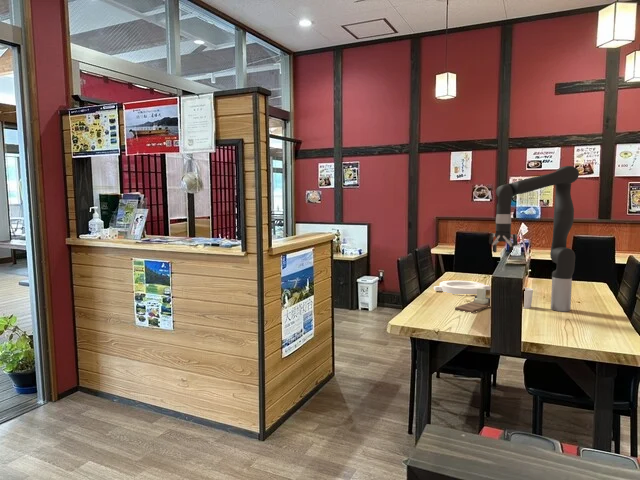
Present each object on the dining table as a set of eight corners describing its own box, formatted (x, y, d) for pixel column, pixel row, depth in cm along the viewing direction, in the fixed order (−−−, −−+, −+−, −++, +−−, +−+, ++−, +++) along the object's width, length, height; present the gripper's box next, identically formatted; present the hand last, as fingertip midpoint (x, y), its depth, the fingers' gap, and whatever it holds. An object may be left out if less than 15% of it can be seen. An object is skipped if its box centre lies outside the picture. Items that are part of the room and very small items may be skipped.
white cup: (517, 304, 247) (517, 286, 246) (532, 306, 243) (533, 288, 242) (515, 307, 240) (516, 289, 239) (531, 309, 236) (532, 290, 235)
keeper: (478, 301, 249) (478, 286, 248) (488, 302, 245) (488, 288, 244) (473, 302, 245) (474, 288, 245) (484, 304, 241) (484, 289, 240)
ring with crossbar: (492, 291, 285) (492, 283, 285) (474, 298, 265) (474, 290, 264) (450, 285, 304) (451, 278, 304) (431, 292, 283) (431, 284, 283)
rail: (476, 302, 252) (476, 295, 252) (493, 305, 245) (493, 298, 244) (454, 309, 235) (455, 302, 235) (472, 313, 228) (472, 305, 228)
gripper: (519, 222, 233) (519, 253, 235) (493, 222, 243) (492, 251, 245) (513, 223, 228) (513, 254, 229) (487, 222, 238) (486, 252, 240)
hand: (502, 252), depth 237 cm, fingers open, 8 cm apart
